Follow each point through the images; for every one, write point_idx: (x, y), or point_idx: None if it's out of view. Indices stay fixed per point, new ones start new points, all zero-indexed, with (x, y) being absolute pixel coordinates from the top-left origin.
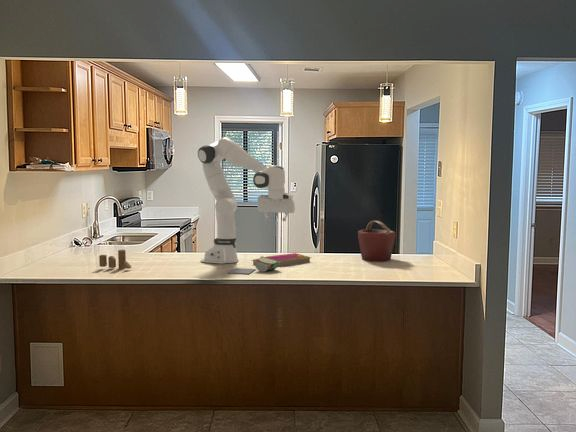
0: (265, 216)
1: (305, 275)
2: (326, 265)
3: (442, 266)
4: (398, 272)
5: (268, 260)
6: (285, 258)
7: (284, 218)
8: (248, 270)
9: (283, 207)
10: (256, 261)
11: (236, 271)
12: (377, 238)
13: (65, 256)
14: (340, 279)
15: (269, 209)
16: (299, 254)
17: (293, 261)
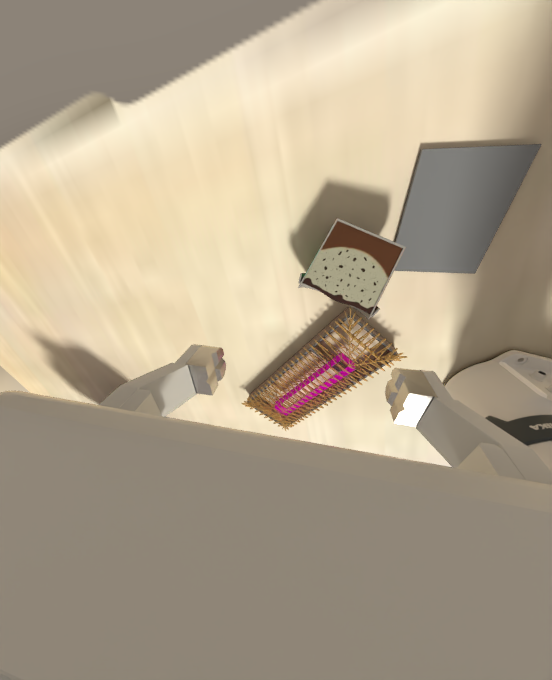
0: (465, 407)
1: (199, 201)
2: None
3: (22, 377)
4: (32, 308)
5: (342, 278)
6: (300, 384)
7: (186, 361)
8: (419, 230)
9: (16, 536)
10: (395, 249)
11: (481, 189)
12: None
13: None
14: (69, 149)
15: (467, 541)
16: (269, 411)
17: (278, 373)
